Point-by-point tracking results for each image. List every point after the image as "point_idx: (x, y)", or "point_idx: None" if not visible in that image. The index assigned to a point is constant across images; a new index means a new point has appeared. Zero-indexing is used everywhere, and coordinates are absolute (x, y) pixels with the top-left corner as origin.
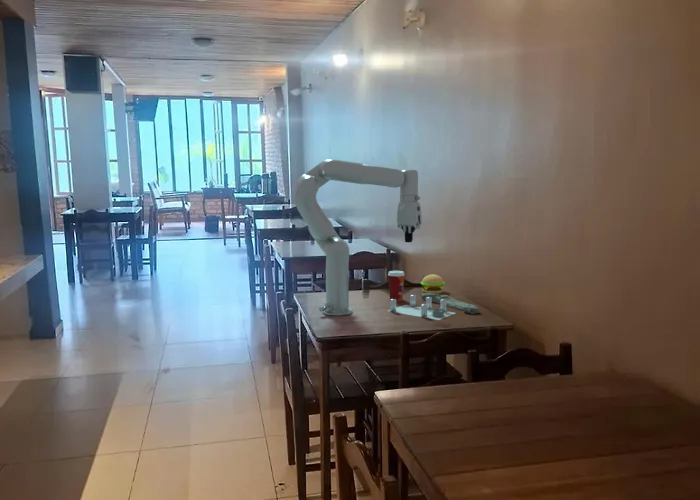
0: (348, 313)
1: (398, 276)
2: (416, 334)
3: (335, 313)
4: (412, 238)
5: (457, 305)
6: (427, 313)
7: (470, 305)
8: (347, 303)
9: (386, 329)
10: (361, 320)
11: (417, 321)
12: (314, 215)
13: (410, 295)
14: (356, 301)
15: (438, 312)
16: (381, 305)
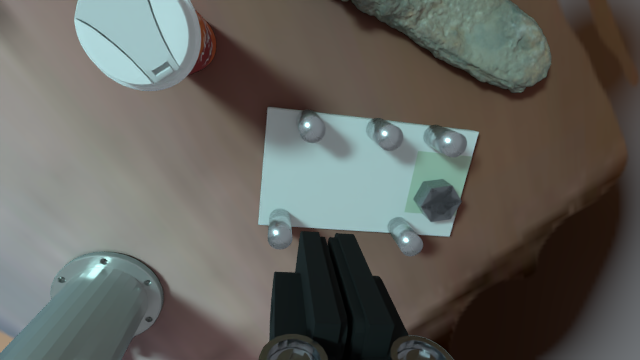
0: (162, 300)
1: (184, 72)
2: None
3: (138, 334)
4: (382, 287)
5: (477, 67)
6: (393, 186)
7: (522, 37)
8: (137, 311)
9: None
10: (240, 323)
11: (386, 253)
12: None
13: (305, 139)
14: (32, 120)
15: (446, 217)
16: (172, 130)
